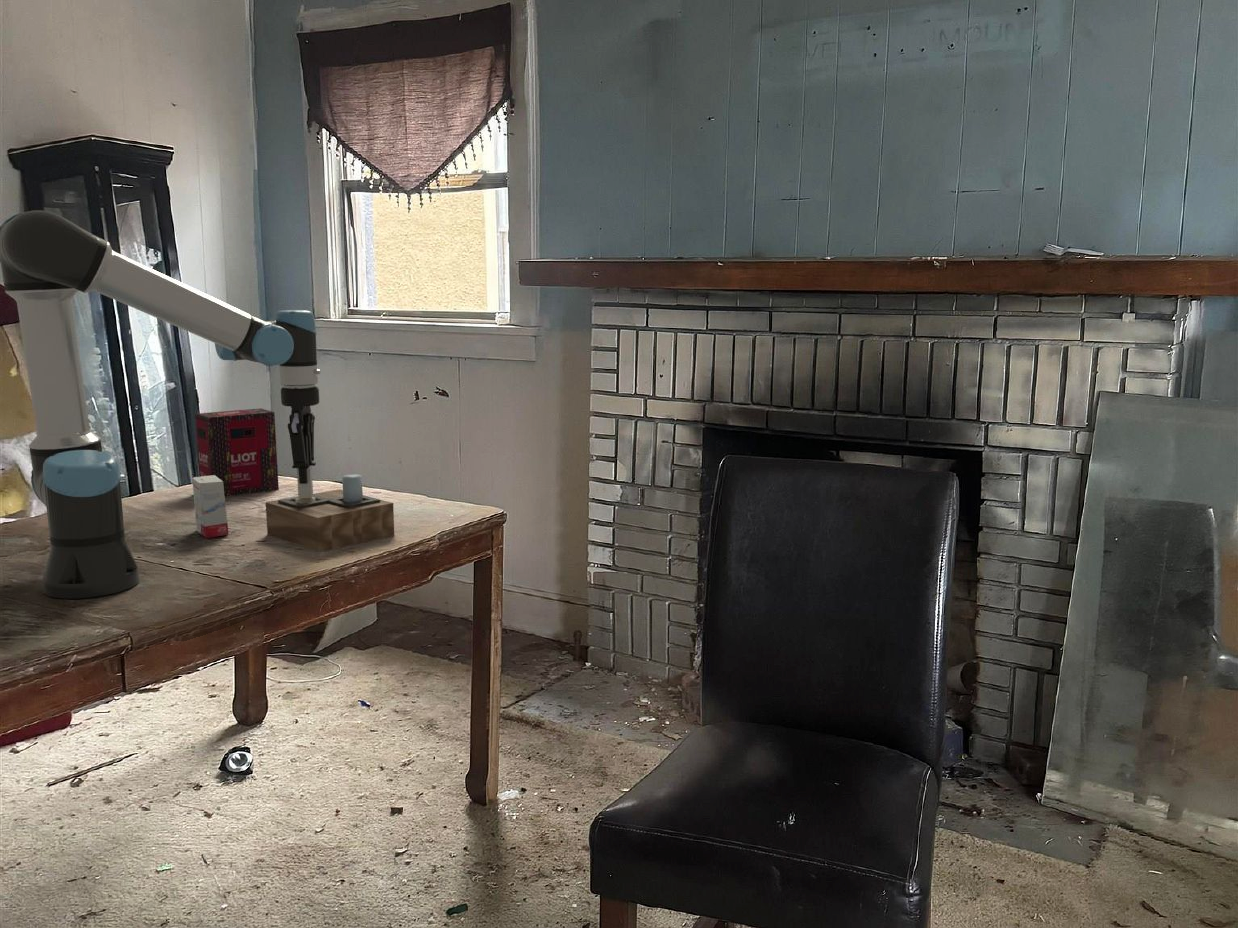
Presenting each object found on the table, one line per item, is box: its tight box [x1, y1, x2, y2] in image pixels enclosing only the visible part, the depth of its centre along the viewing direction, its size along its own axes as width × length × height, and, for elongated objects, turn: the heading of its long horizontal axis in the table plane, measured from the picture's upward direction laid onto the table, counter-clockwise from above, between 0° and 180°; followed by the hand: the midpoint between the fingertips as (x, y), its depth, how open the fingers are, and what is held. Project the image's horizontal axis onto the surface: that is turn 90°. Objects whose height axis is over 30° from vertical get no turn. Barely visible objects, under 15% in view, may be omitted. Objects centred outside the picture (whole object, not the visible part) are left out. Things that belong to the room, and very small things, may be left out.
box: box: [194, 407, 280, 498], centre depth 255 cm, size 16×9×20 cm, turn 130°
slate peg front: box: [341, 474, 364, 503], centre depth 214 cm, size 4×4×8 cm
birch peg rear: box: [295, 497, 315, 504], centre depth 214 cm, size 4×4×8 cm
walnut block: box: [265, 488, 395, 553], centre depth 215 cm, size 18×20×8 cm
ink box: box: [191, 475, 230, 539], centre depth 215 cm, size 9×5×12 cm, turn 33°
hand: (305, 497), depth 214 cm, fingers closed
